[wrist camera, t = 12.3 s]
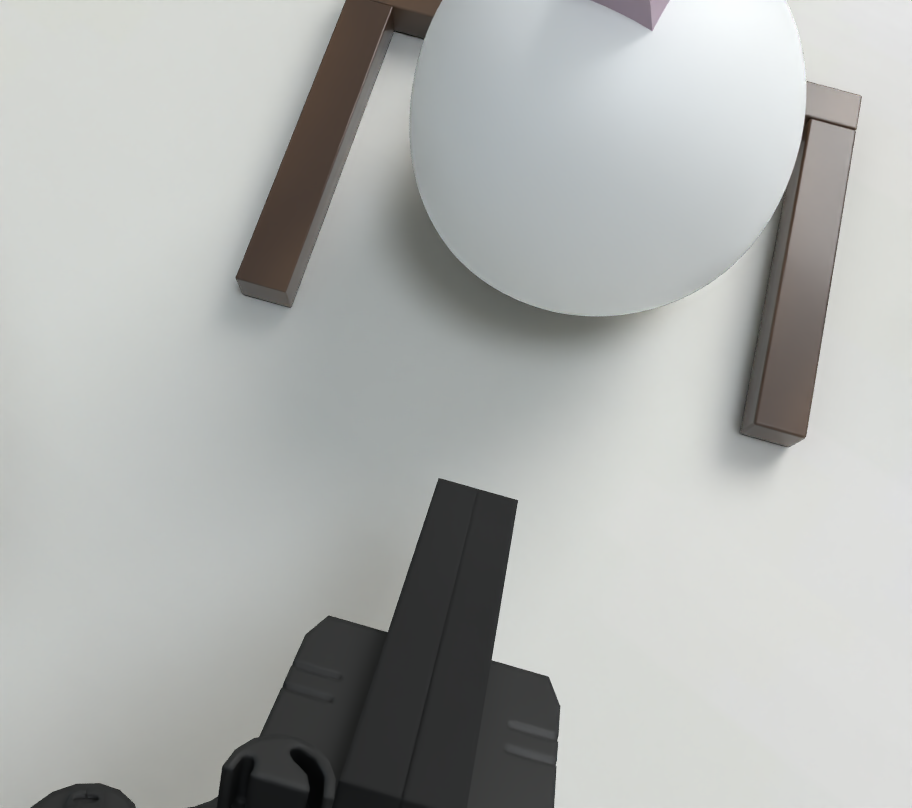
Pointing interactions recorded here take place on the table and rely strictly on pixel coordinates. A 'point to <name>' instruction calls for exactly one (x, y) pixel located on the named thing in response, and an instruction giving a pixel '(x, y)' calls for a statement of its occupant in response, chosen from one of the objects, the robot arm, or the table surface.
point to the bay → (796, 250)
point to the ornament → (605, 142)
